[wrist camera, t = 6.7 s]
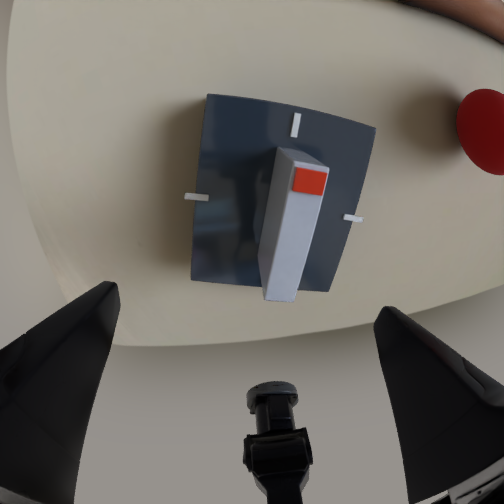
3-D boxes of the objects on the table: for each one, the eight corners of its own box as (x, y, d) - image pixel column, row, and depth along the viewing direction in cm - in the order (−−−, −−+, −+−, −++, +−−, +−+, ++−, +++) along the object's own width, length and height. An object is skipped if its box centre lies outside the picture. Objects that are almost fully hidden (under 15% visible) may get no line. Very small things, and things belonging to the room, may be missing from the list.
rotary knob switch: (325, 270, 22) (336, 294, 19) (187, 257, 21) (181, 281, 18) (364, 126, 16) (386, 131, 14) (202, 95, 15) (195, 92, 12)
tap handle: (281, 258, 18) (294, 306, 14) (257, 256, 17) (263, 304, 13) (304, 151, 14) (332, 169, 10) (277, 146, 14) (294, 161, 10)
